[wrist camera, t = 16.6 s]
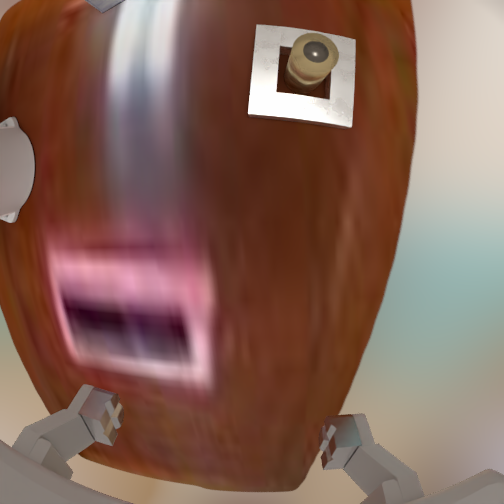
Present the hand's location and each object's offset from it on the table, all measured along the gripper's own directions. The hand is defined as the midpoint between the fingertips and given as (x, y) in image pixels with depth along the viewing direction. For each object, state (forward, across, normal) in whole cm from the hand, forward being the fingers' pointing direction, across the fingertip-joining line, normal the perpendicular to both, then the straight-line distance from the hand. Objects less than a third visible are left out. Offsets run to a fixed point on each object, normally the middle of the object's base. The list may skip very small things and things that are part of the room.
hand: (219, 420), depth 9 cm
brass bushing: (+29, -5, -20) cm, 36 cm away
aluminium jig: (+29, -5, -20) cm, 36 cm away
